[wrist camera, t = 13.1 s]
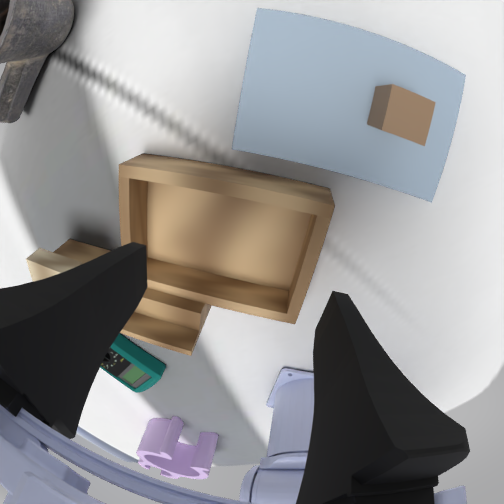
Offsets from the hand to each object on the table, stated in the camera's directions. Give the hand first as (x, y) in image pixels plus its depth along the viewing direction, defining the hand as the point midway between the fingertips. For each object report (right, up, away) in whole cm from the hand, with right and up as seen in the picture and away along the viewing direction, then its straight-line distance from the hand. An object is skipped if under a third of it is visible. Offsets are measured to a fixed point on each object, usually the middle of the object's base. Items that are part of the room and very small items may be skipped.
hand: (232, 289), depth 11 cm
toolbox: (-6, +3, +11) cm, 13 cm away
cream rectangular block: (-14, 0, +9) cm, 17 cm away
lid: (+7, +10, +4) cm, 13 cm away
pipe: (-16, +18, +4) cm, 25 cm away
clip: (-13, -32, +33) cm, 48 cm away
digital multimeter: (-17, -9, +20) cm, 28 cm away
